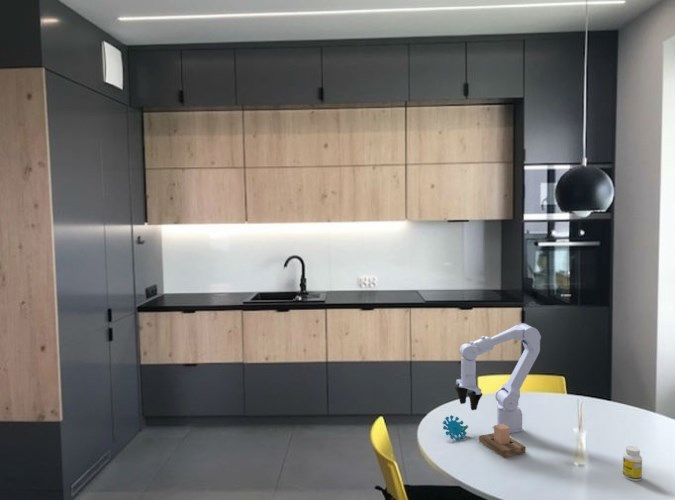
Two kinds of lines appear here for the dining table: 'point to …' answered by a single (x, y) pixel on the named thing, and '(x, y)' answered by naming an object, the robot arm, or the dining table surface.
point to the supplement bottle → (632, 464)
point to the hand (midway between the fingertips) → (468, 406)
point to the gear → (455, 428)
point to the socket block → (502, 446)
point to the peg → (501, 434)
